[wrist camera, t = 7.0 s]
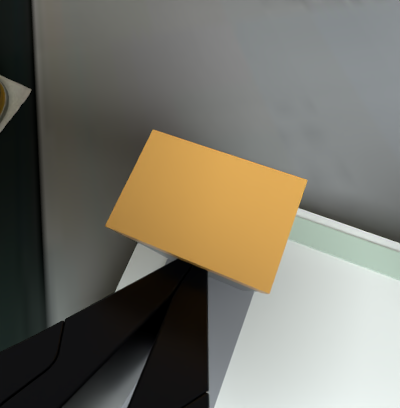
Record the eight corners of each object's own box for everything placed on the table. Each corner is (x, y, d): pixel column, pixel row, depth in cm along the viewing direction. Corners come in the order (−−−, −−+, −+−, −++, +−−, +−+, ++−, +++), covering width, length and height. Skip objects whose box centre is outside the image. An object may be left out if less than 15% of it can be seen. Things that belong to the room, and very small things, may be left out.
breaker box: (582, 735, 11) (719, 907, 8) (69, 435, 15) (30, 471, 12) (604, 335, 14) (706, 347, 11) (182, 183, 19) (173, 163, 16)
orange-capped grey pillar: (244, 292, 13) (269, 293, 5) (173, 262, 14) (104, 225, 6) (262, 242, 14) (307, 179, 6) (192, 215, 14) (152, 129, 7)
